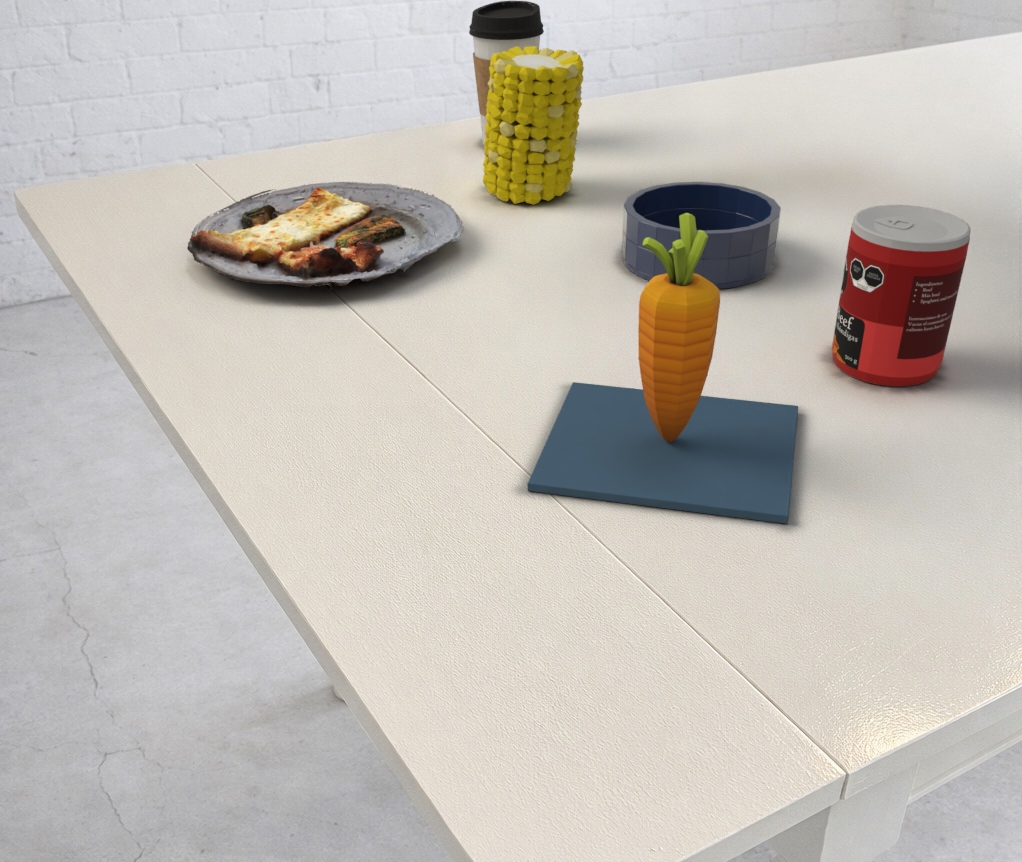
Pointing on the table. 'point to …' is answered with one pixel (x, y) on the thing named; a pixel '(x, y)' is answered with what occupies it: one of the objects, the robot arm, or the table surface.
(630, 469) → the blue rectangular board
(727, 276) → the pot
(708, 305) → the carrot
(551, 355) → the table surface
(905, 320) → the canned food
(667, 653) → the table surface
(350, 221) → the food plate
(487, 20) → the coffee cup
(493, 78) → the food
